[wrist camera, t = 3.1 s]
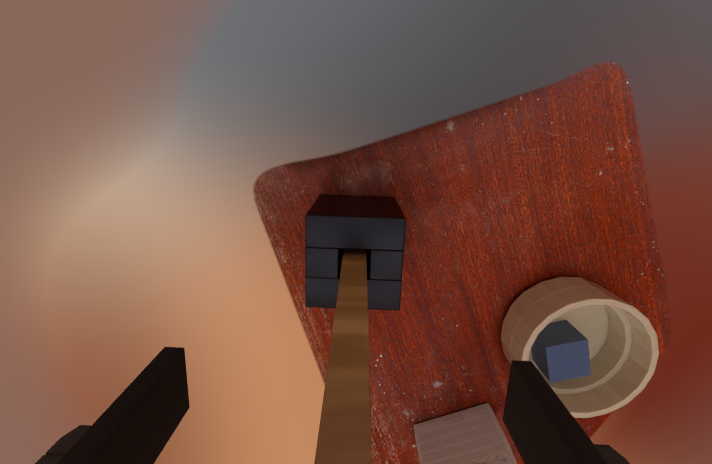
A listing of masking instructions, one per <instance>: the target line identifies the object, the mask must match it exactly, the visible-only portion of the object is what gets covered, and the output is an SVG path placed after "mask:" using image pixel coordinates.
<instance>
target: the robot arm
mask: <svg viewBox="0 0 712 464" xmlns="http://www.w3.org/2000/svg"><path fill="white" fill-rule="evenodd" d="M186 375H187V374H186V363H185V352H184V348H175V347H164V349H163V350H162V351H161V352H160V353H159V354H158V355H157V356H156V357H155V358H154V359H153V360H152V362H150V364H149V365H148V366H147V367H146V368H145V369H144V370H143V371H142V372H141V374H139V375H138V376H137V378H136V379H135V380H134V381H133V382H132V383H131V384H130V385H129V386H128V387H127V388H126V389H125V390H124V392H123V393H122V394H121V395H120V396H119V397H118V398H117V399H116V400H115V401H114V402H113V403H112V404H111V406H110V407H109V408H108V409H107V410H106V411H105V412H104V413H103V414H102V415H101V416H100V417H99V418H98V419H97V421H96V422H95V423H94V424H93V425H92V426H86V425H80V426H78V427H77V428H75V429H74V430H72V431H71V432H69V433H67V434H66V435H64V436H63V437H61V438H60V439H59V440H58V441H57V442H56V443H55V444H54V445H53V446H52V447H51V448H50V449H49V450H48V451H47V452H46V455H43V456H42V457H41V458H40V459H39V460H38V461H37V462H36V463H35V464H154V462H155V461H156V459H157V458H158V456H159V454H160V453H161V451H162V450H163V448H164V446H165V445H166V443H167V442H168V440H169V439H170V437H171V436H172V434H173V432H174V431H175V429H176V428H177V426H178V425H179V423H180V421H181V420H182V418H183V417H184V415H185V413H186V412H187V410H188V409H189V397H188V385H187V376H186ZM503 421H504V423H505V425H506V427H507V429H508V431H509V433H510V435H511V437H512V439H513V441H514V443H515V445H516V447H517V449H518V451H519V453H520V455H521V457H522V460H523V462H524V464H629V462H628V461H627V460H626V459H625V458H624V457H623V456H621V455H620V454H619V453H618V452H616V451H615V450H614V449H613V448H611V447H610V446H609V445H595V444H593V443H592V441H591V440H590V439H589V437H588V436H587V435H586V433H585V432H584V431H583V429H582V428H581V427H580V425H579V424H578V423H577V421H576V420H575V419H574V417H573V416H572V415H571V413H570V412H569V411H568V409H567V408H566V407H565V405H564V404H563V403H562V401H561V400H560V399H559V397H558V396H557V395H556V393H555V392H554V391H553V389H552V388H551V387H550V385H549V384H548V383H547V381H546V380H545V379H544V377H543V376H542V375H541V373H540V372H539V371H538V369H537V368H536V367H535V365H534V364H533V363H532V361H519V360H512V362H511V368H510V375H509V381H508V388H507V395H506V401H505V408H504V414H503Z"/></svg>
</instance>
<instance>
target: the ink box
mask: <svg viewBox="0 0 712 464" xmlns="http://www.w3.org/2000/svg"><path fill="white" fill-rule="evenodd" d="M414 433H415V438H416V443H417V449H418V455H419V460H420V464H517V462H516V460H515V458H514V456H513V452H512V450H511V447H510V445H509V443H508V441H507V438H506V436H505V434H504V432H503V430H502V428H501V426H500V424H499V422H498V420H497V418H496V416H495V414H494V412H493V410H492V408H491V406H490V404H489V403H485V404H482V405H478V406H475V407H472V408H468V409H465V410H462V411H458V412H455V413H452V414H449V415H445V416H442V417H438V418H435V419H432V420H429V421H425V422H422V423H418V424H415V425H414Z"/></svg>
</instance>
